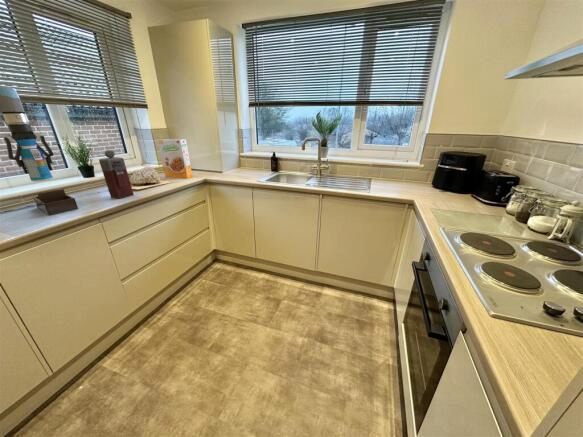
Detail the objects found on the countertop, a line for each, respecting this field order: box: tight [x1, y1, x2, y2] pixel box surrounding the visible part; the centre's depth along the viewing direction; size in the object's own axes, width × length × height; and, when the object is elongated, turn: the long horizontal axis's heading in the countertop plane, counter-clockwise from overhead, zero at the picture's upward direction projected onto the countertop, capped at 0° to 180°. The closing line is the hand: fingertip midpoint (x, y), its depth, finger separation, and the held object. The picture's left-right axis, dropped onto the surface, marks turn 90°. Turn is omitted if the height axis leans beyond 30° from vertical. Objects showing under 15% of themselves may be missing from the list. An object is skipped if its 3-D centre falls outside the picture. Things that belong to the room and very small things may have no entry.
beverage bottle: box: [15, 139, 54, 182], centre depth 119 cm, size 8×8×20 cm
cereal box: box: [157, 138, 193, 180], centre depth 194 cm, size 22×6×30 cm, turn 72°
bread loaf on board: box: [129, 166, 172, 190], centre depth 175 cm, size 28×22×16 cm
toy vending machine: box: [98, 149, 135, 200], centre depth 144 cm, size 9×11×28 cm
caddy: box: [32, 188, 79, 216], centre depth 129 cm, size 23×12×10 cm, turn 55°
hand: (39, 171), depth 121 cm, fingers closed on beverage bottle, 8 cm apart
